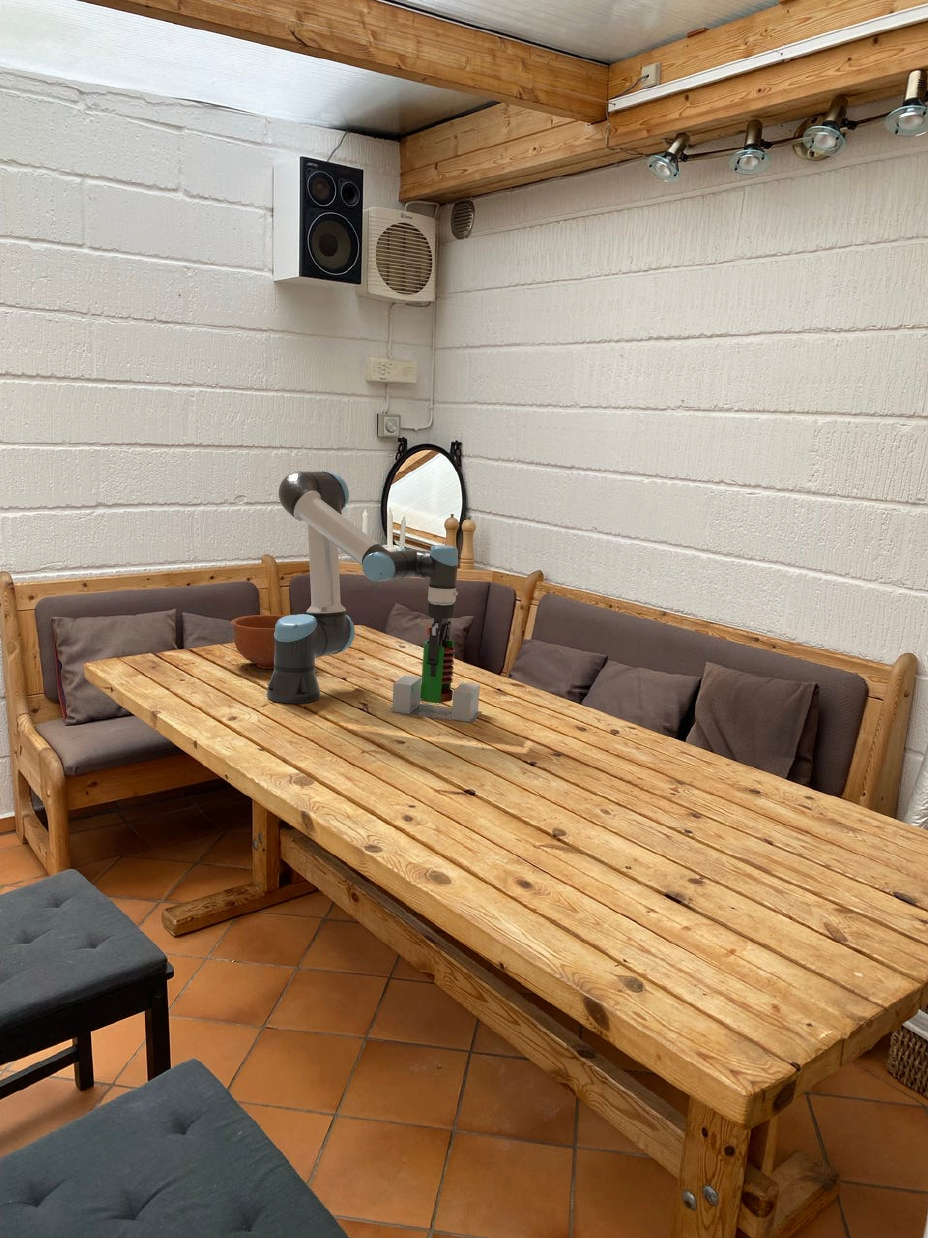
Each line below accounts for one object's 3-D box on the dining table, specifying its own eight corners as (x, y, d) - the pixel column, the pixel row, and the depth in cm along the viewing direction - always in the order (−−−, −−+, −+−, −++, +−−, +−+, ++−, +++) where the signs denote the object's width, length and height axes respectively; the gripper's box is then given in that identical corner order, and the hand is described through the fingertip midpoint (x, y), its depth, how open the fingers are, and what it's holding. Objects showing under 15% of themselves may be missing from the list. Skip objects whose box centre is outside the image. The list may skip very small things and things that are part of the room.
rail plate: (387, 717, 262) (387, 711, 262) (400, 706, 274) (400, 701, 274) (471, 728, 257) (472, 723, 256) (481, 716, 268) (482, 711, 268)
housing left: (392, 711, 263) (393, 683, 261) (403, 702, 272) (404, 675, 271) (409, 713, 262) (411, 685, 260) (420, 704, 271) (421, 677, 270)
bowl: (301, 677, 299) (302, 630, 296) (221, 672, 299) (222, 625, 296) (314, 660, 323) (315, 616, 320) (240, 655, 323) (241, 611, 320)
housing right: (451, 719, 259) (453, 690, 257) (460, 709, 268) (462, 682, 267) (469, 721, 258) (471, 692, 256) (478, 712, 267) (479, 684, 266)
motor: (452, 704, 259) (456, 632, 255) (419, 702, 259) (422, 630, 255) (453, 694, 269) (457, 625, 265) (421, 692, 269) (425, 623, 265)
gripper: (445, 609, 249) (440, 694, 253) (464, 598, 268) (459, 678, 272) (417, 606, 251) (413, 691, 255) (438, 596, 270) (434, 675, 274)
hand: (437, 684), depth 264 cm, fingers closed on motor, 7 cm apart
